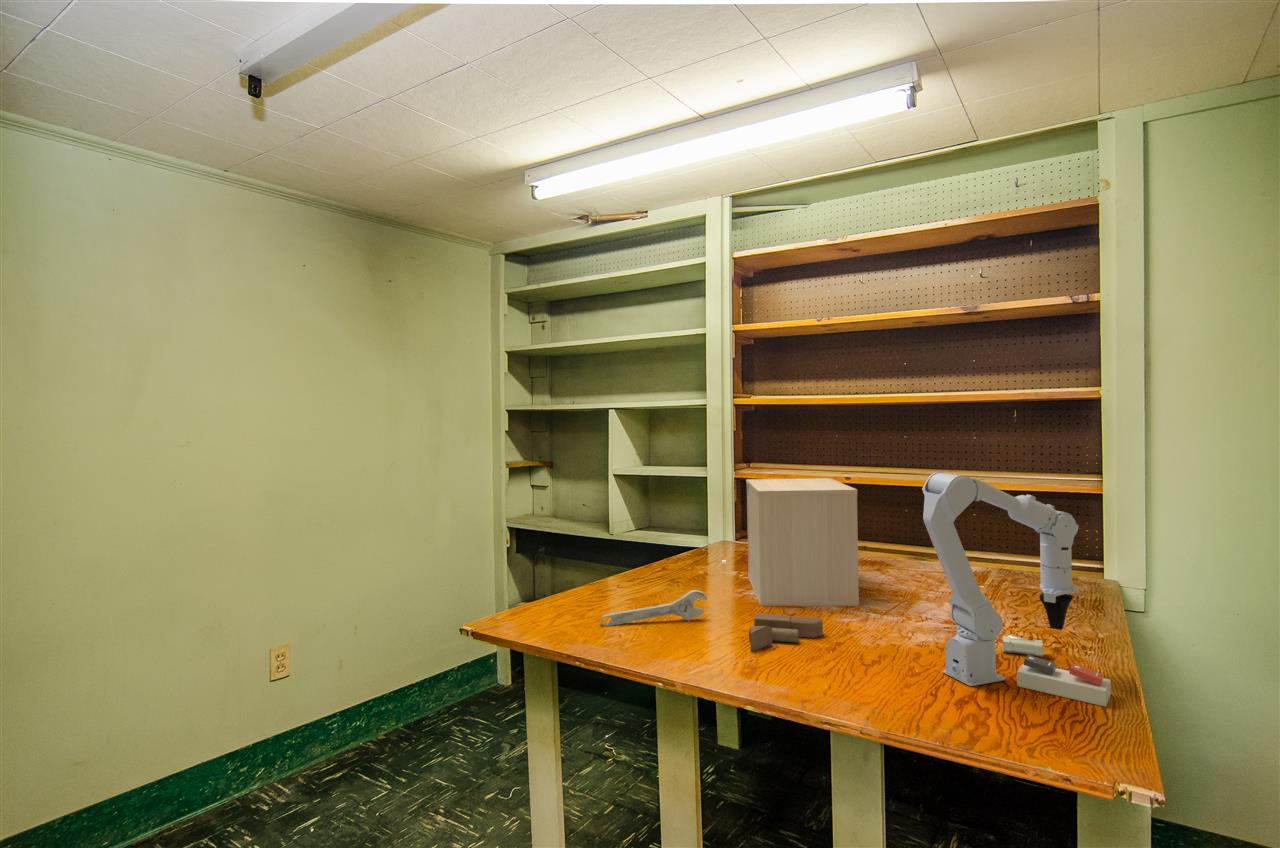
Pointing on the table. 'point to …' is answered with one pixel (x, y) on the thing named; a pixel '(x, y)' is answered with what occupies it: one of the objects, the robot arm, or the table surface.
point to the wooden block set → (782, 629)
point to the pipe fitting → (1022, 646)
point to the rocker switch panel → (1064, 685)
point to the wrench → (660, 610)
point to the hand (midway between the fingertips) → (1056, 628)
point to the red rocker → (1086, 674)
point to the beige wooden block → (802, 542)
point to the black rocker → (1040, 664)
